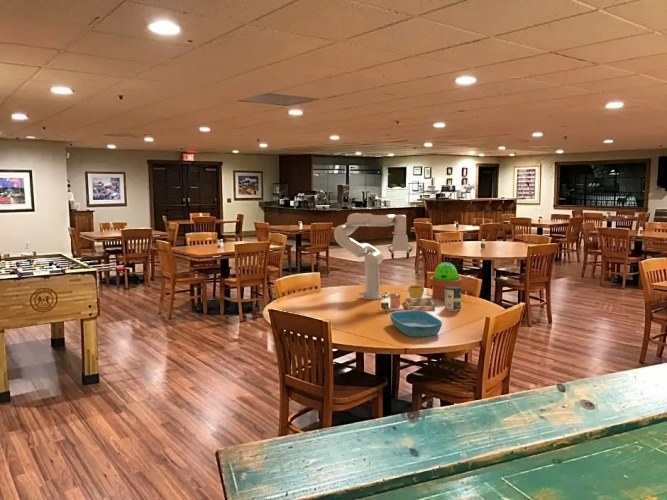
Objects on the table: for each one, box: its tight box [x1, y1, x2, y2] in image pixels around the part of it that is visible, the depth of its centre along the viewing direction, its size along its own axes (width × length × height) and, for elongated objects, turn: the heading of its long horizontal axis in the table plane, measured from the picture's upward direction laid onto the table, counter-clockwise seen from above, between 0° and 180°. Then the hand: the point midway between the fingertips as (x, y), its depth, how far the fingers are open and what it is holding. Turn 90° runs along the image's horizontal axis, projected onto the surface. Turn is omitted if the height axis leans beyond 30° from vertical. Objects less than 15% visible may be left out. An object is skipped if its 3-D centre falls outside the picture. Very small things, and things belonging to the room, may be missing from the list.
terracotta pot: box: [389, 293, 402, 308], centre depth 333 cm, size 7×7×8 cm
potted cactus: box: [428, 261, 463, 301], centre depth 360 cm, size 22×22×25 cm
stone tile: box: [388, 304, 404, 311], centre depth 333 cm, size 9×9×1 cm
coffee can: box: [444, 285, 463, 312], centre depth 329 cm, size 10×10×14 cm
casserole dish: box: [389, 309, 443, 338], centre depth 286 cm, size 37×22×7 cm, turn 13°
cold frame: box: [404, 297, 436, 311], centre depth 333 cm, size 17×13×5 cm
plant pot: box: [407, 285, 425, 298], centre depth 352 cm, size 10×10×10 cm
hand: (400, 258), depth 352 cm, fingers open, 9 cm apart
